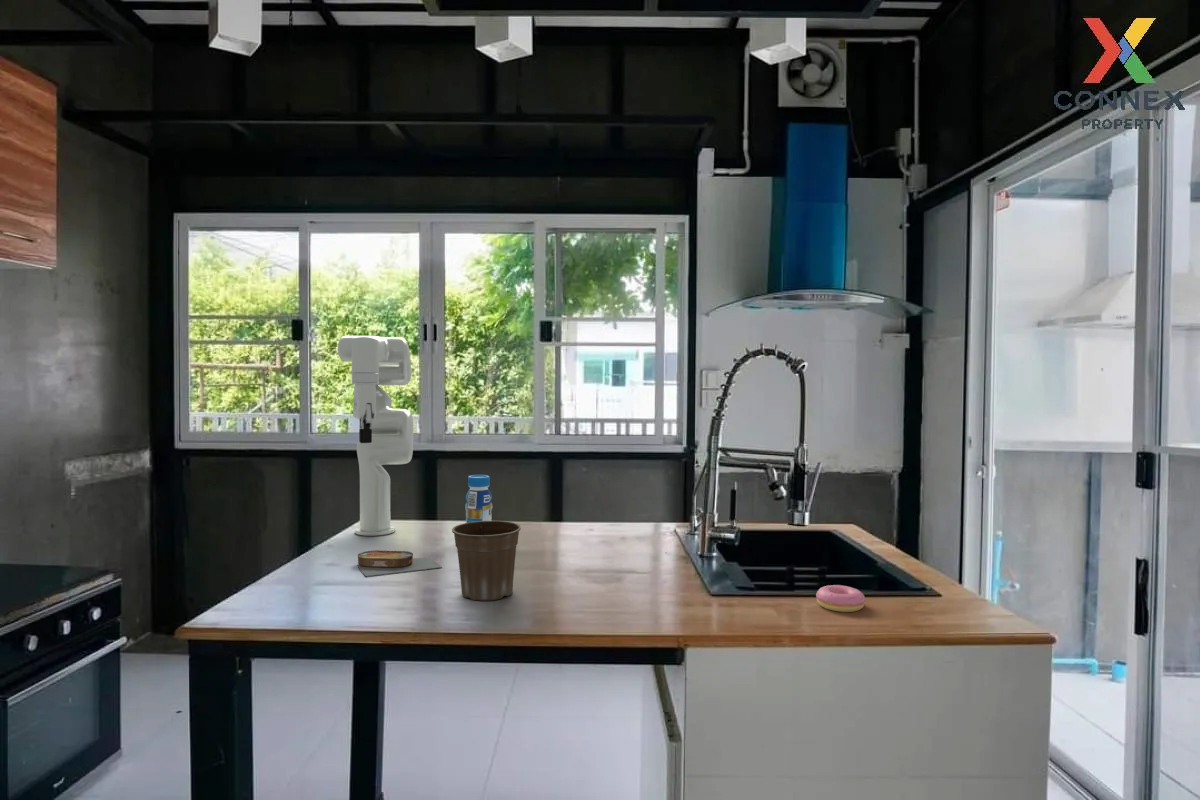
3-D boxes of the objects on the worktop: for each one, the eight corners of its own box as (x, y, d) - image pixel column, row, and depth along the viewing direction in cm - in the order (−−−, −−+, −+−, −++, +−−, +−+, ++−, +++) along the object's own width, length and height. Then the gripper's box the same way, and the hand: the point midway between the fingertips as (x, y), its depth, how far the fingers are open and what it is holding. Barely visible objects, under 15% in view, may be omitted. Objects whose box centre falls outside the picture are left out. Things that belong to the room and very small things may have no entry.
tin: (417, 551, 209) (406, 556, 200) (417, 562, 209) (406, 568, 200) (365, 549, 210) (352, 555, 202) (365, 561, 210) (352, 566, 202)
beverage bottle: (462, 537, 239) (462, 474, 238) (487, 535, 243) (488, 473, 242) (469, 543, 232) (469, 478, 231) (495, 540, 235) (495, 477, 234)
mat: (357, 565, 204) (357, 564, 204) (429, 557, 214) (429, 556, 214) (365, 577, 194) (365, 575, 194) (441, 568, 203) (441, 566, 203)
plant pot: (454, 606, 171) (454, 536, 170) (449, 586, 186) (449, 522, 186) (525, 601, 175) (526, 532, 174) (514, 582, 191) (515, 519, 190)
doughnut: (833, 616, 168) (833, 597, 167) (806, 601, 178) (806, 584, 178) (875, 612, 171) (875, 594, 171) (846, 597, 181) (846, 580, 181)
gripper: (347, 378, 221) (347, 440, 222) (356, 379, 208) (356, 445, 209) (373, 378, 225) (373, 439, 226) (384, 379, 212) (384, 444, 213)
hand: (365, 442), depth 217 cm, fingers closed
